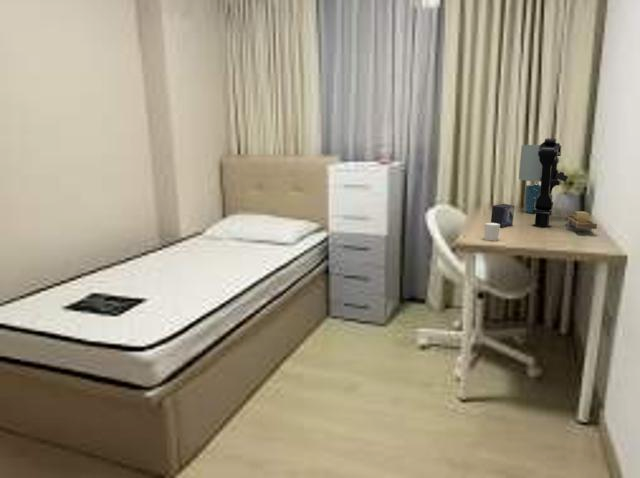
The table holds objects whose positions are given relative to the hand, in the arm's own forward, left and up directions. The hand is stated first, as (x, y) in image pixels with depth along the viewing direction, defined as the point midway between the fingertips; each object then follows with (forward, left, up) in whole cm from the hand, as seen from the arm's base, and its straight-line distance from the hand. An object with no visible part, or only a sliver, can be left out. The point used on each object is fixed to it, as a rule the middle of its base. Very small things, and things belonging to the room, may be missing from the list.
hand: (548, 197), depth 285 cm
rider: (-10, -27, -8) cm, 30 cm away
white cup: (-63, -22, -12) cm, 68 cm away
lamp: (+12, +18, -12) cm, 25 cm away
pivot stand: (-10, -27, -12) cm, 31 cm away
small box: (-35, -2, -12) cm, 37 cm away
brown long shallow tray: (-10, -27, -8) cm, 30 cm away
